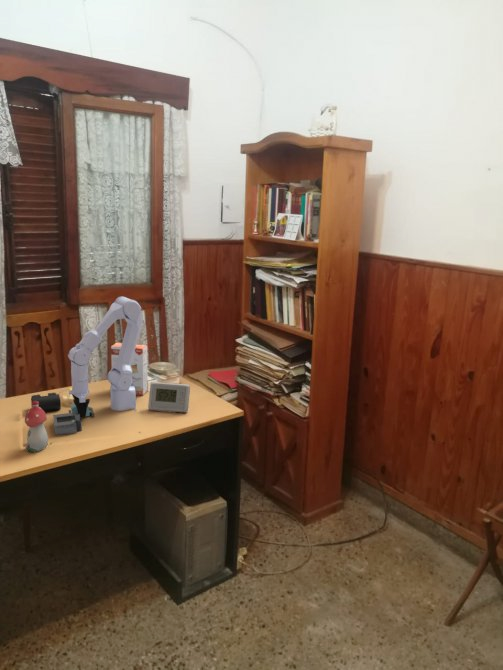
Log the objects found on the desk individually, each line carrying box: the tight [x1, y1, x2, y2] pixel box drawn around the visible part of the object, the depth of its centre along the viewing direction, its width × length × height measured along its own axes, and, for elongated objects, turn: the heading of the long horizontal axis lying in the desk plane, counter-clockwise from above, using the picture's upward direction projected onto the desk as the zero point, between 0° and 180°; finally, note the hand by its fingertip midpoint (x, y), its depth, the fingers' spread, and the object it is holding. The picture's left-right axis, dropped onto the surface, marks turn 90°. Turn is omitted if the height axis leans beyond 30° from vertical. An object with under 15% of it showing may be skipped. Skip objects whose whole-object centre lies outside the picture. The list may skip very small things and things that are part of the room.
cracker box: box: [110, 342, 149, 396], centre depth 220 cm, size 14×6×21 cm, turn 81°
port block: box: [52, 412, 83, 437], centre depth 183 cm, size 9×10×5 cm
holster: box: [68, 407, 95, 418], centre depth 194 cm, size 9×7×3 cm
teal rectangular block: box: [70, 403, 92, 418], centre depth 194 cm, size 7×4×4 cm, turn 113°
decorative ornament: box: [24, 401, 49, 453], centre depth 169 cm, size 9×6×15 cm
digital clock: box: [147, 381, 191, 413], centre depth 205 cm, size 16×9×11 cm, turn 72°
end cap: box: [30, 392, 62, 413], centre depth 198 cm, size 10×7×7 cm
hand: (81, 413), depth 194 cm, fingers open, 6 cm apart
